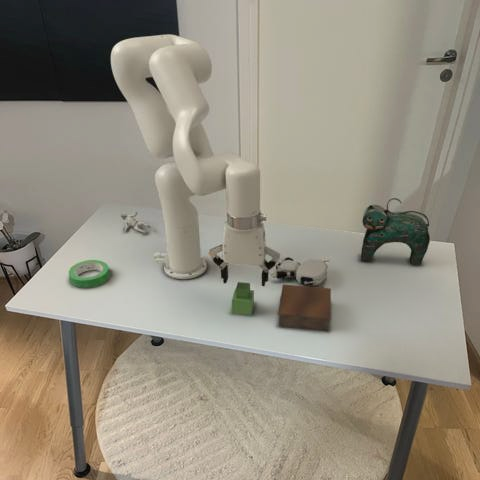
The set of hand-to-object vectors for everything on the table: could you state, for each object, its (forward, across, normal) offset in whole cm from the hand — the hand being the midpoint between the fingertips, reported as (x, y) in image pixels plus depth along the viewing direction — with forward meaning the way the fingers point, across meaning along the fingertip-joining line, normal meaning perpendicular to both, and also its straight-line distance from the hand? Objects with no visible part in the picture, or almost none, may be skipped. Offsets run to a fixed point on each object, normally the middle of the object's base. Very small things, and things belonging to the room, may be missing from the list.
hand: (244, 282), depth 116 cm
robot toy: (+9, -13, -18) cm, 24 cm away
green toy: (+9, +1, 0) cm, 9 cm away
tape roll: (+8, +47, -8) cm, 48 cm away
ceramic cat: (+9, -39, -32) cm, 51 cm away
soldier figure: (+7, +44, -40) cm, 59 cm away
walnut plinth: (+9, -15, -1) cm, 18 cm away
